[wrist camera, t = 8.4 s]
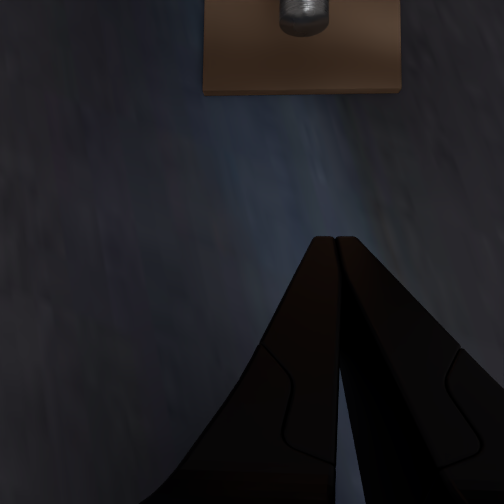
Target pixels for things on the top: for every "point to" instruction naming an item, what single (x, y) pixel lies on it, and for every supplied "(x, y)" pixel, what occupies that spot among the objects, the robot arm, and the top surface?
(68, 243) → the top surface
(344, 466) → the top surface
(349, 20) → the pipe stand
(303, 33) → the pipe
